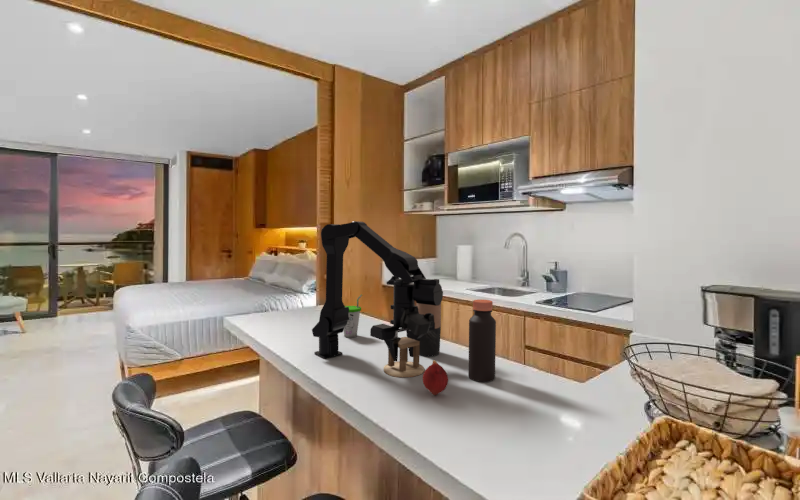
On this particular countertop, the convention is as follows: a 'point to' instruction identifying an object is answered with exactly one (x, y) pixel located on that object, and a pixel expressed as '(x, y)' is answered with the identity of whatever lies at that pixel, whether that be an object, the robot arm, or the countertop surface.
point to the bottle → (482, 342)
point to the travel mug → (432, 338)
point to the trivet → (409, 371)
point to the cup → (352, 321)
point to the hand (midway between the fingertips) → (403, 358)
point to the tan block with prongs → (406, 353)
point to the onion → (435, 378)
